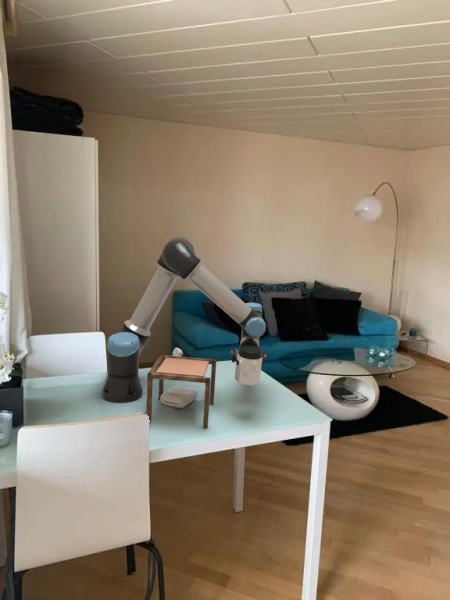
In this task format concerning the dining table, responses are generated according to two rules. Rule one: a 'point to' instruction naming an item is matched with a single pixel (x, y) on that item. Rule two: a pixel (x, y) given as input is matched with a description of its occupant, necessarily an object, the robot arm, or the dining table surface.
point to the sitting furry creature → (177, 352)
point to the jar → (248, 365)
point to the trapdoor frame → (153, 375)
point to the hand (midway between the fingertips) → (247, 367)
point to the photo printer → (178, 396)
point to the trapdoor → (183, 367)
